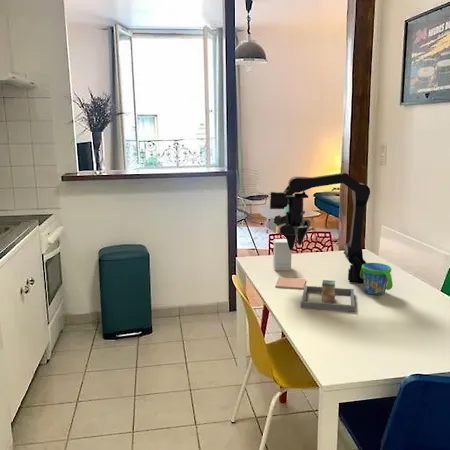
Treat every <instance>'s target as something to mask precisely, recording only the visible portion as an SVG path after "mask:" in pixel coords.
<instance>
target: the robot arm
mask: <svg viewBox="0 0 450 450" xmlns="http://www.w3.org/2000/svg"><path fill="white" fill-rule="evenodd" d="M287 183H288V184H287V187H286V188H285V189H284V191H283V192H282V191H280V192H278V191H277V192H276V191H270V194H269V195H270V199H269V209H270V210H284V209H285V208H286V207H288V211H286V213H285V215H282V216H281V215H276V216H274V219H273V224H275V225H276V227H279V226H280V225H282V226H281V227H280V228H279V234H280V235H282V236H283V237H285V239H287V242H288V246H289V249H290V250H291V251H293V249H294V247H295V244H296V241H297V245H298V246H301V245H302V243H303V241H304V239H305V236H306V234H307V233H308V231H309V229H310V227H311V224H312V223H311V220H310V219H308V218H304V215H305V213H306V211H305V210H304V199H308V198H309V195H308V194H307V193H306V191H308V190H310V189H313V188H317V187H325V186H326V187H327V186H332V185H333V186H334V185H338V184H344V185H345V186H346V187H347V188H349V189H350V190H351V197H352V204H353V208H352V209H353V210H352V219H351V228H350V237H349V238H350V239H349V241H348V243H344V251H343V254H344V256H345V258H346V260H347V261H348V263H349V264H350V265H349V268H348V273H347V275H348V276H347V280H348V283H350V284H351V283H352V284H363V285H364V279H363V278H360V271H361V267H362V265H363V264H365V263H367V262H366V260H365V259H364V257H363V256H364V255H363V247H362V234H363V227H364V226H363V225H364V217H365V210H366V209H365V208H366V205H367V203H368V202H369V199H370V195H371V188H370V187H369V186H368V185H366V184H364V183H362V182H359V181H357V180H356V179H354V178H353V177H352V176H350V175H349V174H348V173H347V172H344V171H343V172H339V173H338V172H337V173H332V174H326V175H319V176H318V175H317V176H313V177H311V176H309V177H308V176H292V177H291V178H290V179H289V180H288V182H287Z"/></svg>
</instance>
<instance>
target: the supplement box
mask: <svg viewBox="0 0 450 450" xmlns="http://www.w3.org/2000/svg"><path fill="white" fill-rule="evenodd" d="M272 256H273V260H272V263H273V265H272V266H273V269H274V271H291V270H292V250H290V249H289V246H288V242H287V239H286V238H274V239H273V255H272Z"/></svg>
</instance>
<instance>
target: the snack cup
mask: <svg viewBox="0 0 450 450" xmlns="http://www.w3.org/2000/svg"><path fill="white" fill-rule="evenodd" d="M391 273H392V267H391V266H390V265H387V264H386V263H385V264H384V263H379V262H366V263H365V264H363V265H362V267H361V271H360V278H363V279H364V284H363V288H364V291H365V292H366V293H367V294H370V295H372V296H373V295H375V296H379V295H380V296H381V295H383V294H385V293H386V291H389V290H391V289H393V278H392V274H391Z"/></svg>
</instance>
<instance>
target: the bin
mask: <svg viewBox="0 0 450 450" xmlns="http://www.w3.org/2000/svg"><path fill="white" fill-rule="evenodd" d="M318 292H320V293H321V294H322V286H315V285H305V286H304V289H303V292H302V297H301V301H300V308H302V309H303V308H304V309H314V310H325V311H326V310H327V311H338V312H339V311H341V312H354V313H355V309H356V308H355V307H356V306H355V304H356V303H355V291H354V288H345V287H344V288H343V287H342V288H341V287H335V295H348V296H350V304H345V303H323V302H318V301H317V302H316V301H306V298H307V295H308V293H318ZM320 293H319V294H320Z"/></svg>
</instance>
